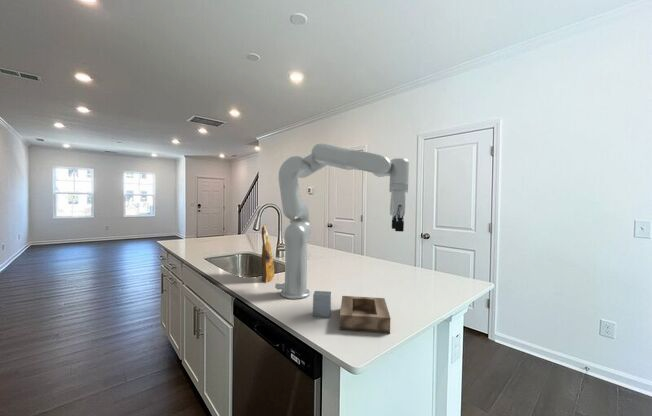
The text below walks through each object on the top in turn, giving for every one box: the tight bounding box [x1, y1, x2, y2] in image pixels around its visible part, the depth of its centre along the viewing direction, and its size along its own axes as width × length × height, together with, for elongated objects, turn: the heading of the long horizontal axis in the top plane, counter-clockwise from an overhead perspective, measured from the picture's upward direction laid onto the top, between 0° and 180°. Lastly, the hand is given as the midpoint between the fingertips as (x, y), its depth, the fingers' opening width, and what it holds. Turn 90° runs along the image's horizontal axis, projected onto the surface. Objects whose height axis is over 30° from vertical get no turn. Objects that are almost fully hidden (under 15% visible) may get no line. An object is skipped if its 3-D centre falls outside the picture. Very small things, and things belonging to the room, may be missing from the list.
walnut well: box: [339, 295, 391, 335], centre depth 98 cm, size 16×18×5 cm
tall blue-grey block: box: [312, 290, 332, 319], centre depth 102 cm, size 6×4×8 cm
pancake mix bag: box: [260, 223, 275, 283], centre depth 147 cm, size 7×19×28 cm, turn 2°
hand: (397, 230), depth 117 cm, fingers open, 9 cm apart
